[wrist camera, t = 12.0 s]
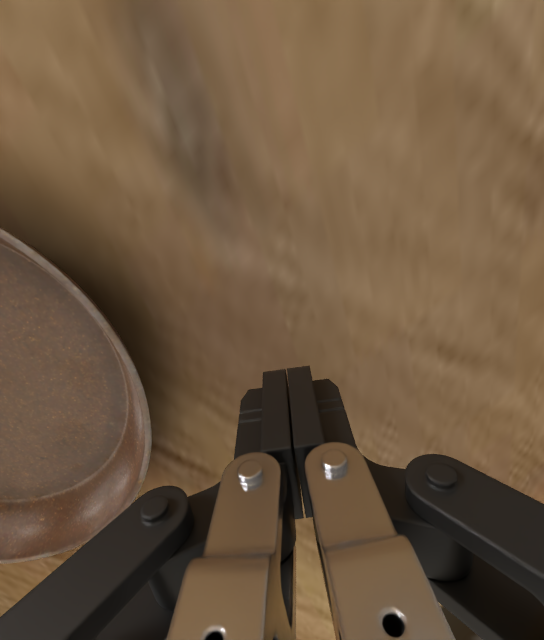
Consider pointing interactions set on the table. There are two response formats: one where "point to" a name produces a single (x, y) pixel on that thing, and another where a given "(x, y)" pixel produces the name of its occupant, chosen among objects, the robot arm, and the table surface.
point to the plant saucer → (62, 411)
